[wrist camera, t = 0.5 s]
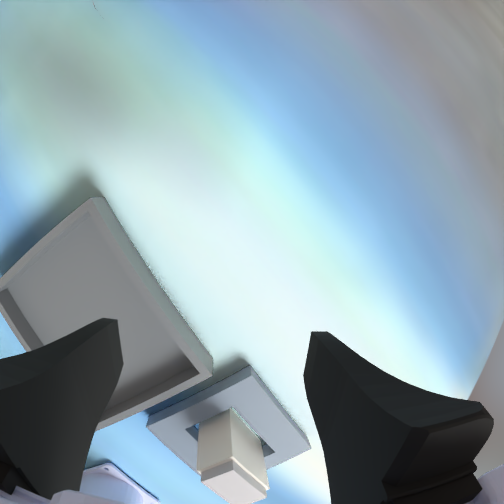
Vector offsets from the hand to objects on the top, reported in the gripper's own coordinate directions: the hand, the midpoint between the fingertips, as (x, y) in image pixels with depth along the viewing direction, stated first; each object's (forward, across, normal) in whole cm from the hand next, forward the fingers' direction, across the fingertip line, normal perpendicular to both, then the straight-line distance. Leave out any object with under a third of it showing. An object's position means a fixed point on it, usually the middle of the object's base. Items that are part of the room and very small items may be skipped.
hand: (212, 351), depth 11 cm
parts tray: (+10, +10, +5) cm, 15 cm away
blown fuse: (+9, -1, +15) cm, 17 cm away
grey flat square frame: (+9, -1, +15) cm, 17 cm away
